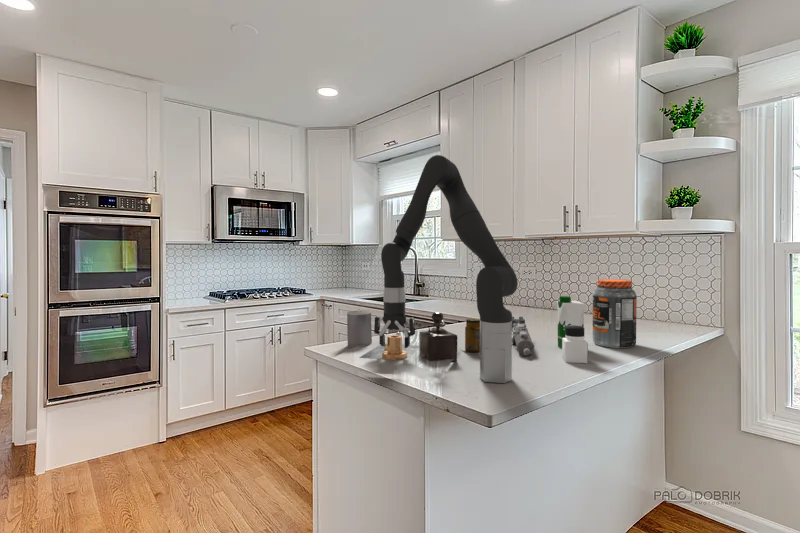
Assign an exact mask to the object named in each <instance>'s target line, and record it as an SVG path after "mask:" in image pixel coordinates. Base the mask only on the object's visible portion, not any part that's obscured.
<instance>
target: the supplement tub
mask: <svg viewBox="0 0 800 533" xmlns="http://www.w3.org/2000/svg"><path fill="white" fill-rule="evenodd" d="M596 282H597V283H596V288H595V289H594V290H593V291H592V292H593V293H592V342H593V343H594V344H596V345H597V346H600V347H601V346H602V347H604V348H605V347H607V348H611V349H612V348H614V349H627V348H628V349H629V348H633V347H635V346H636V344H637V305H638V304H637V302H638V301H637V298H638V297H637V293H636V291H635V290H634V289H633V288H632V286H633V281H632V280H630V279H620V278H619V279H617V278H606V279H605V278H602V279H597V281H596Z"/></svg>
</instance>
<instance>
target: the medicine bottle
mask: <svg viewBox="0 0 800 533" xmlns="http://www.w3.org/2000/svg"><path fill="white" fill-rule="evenodd" d="M565 337H566V338H562V349H561V358H562V360H563V361H564V362H565V363H567V364H570V363H572V364H588V363H589V343H588V341H587V340H586V339H585V327H582V326H579V325H568V326H566V327H565Z"/></svg>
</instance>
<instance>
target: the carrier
mask: <svg viewBox="0 0 800 533" xmlns="http://www.w3.org/2000/svg"><path fill="white" fill-rule="evenodd" d="M395 335H397V336H401V331H400V332H399V331H397V332H396V333H395ZM418 349H419V345H417V344H416V345H415V344H410V345H409V346H408V348H405V344H402V350H403V351H406V352H407V357H406V358H405V359H398V360H396V361H398V362H399V361H400V362H404V361H405V360H406V359H408V358H409V357H410V356H411V355H412V354H413V353H415V352H416V351H417V350H418ZM387 350H388V349H387V343H385V346H381V345H380V344H379V345H377V346H376V347H374V348H373V349H371V350H369V351H367V352H366V353H364V354H363V355H361V356H360V357H359V359H370V360H373V359H375V360H382V361H383V360H385V361H392V360H391V359H385V358H383V357H382V353H383V352H384V351H387Z"/></svg>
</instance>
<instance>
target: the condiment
mask: <svg viewBox="0 0 800 533" xmlns="http://www.w3.org/2000/svg"><path fill="white" fill-rule="evenodd" d="M465 322H466V324H465V327H464V348H461V349H460V350H461V351H462V352H465V353H466V354H468V355H480V318H479V319H478V318H468V319H466V320H465Z"/></svg>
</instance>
